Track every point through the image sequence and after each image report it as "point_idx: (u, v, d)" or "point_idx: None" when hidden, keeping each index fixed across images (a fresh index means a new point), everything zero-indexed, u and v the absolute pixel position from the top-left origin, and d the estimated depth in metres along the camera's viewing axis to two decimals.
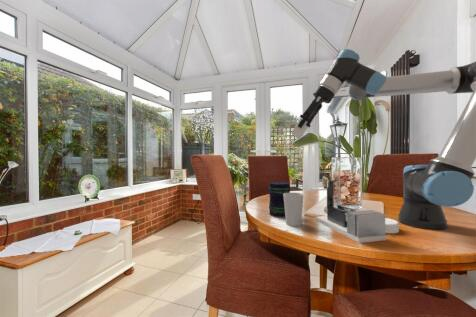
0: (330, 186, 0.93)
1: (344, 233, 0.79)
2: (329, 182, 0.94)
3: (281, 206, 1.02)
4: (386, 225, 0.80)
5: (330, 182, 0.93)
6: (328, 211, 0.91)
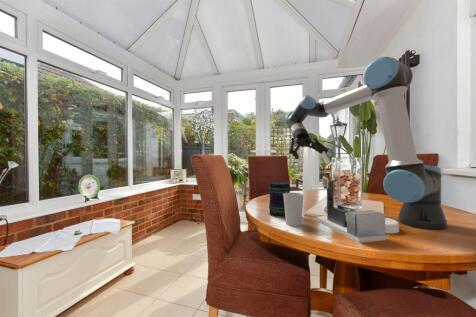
0: (330, 186, 0.93)
1: (344, 233, 0.79)
2: (329, 182, 0.94)
3: (281, 206, 1.02)
4: (386, 225, 0.80)
5: (330, 182, 0.93)
6: (328, 211, 0.91)
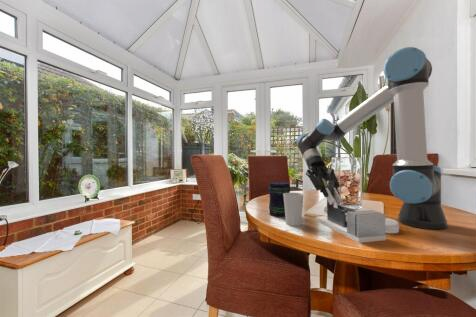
0: (330, 186, 0.93)
1: (344, 233, 0.79)
2: (329, 182, 0.94)
3: (281, 206, 1.02)
4: (386, 225, 0.80)
5: (330, 182, 0.93)
6: (328, 211, 0.91)
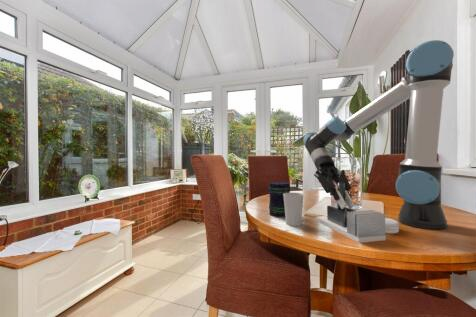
0: (341, 188, 0.86)
1: (344, 233, 0.79)
2: (340, 184, 0.87)
3: (281, 206, 1.02)
4: (386, 225, 0.80)
5: (341, 184, 0.86)
6: (328, 211, 0.91)
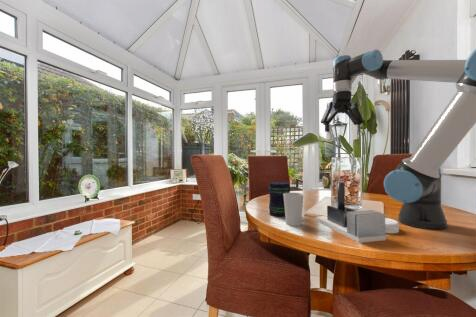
0: (341, 188, 0.86)
1: (344, 233, 0.79)
2: (340, 184, 0.87)
3: (281, 206, 1.02)
4: (386, 225, 0.80)
5: (341, 184, 0.86)
6: (328, 211, 0.91)
